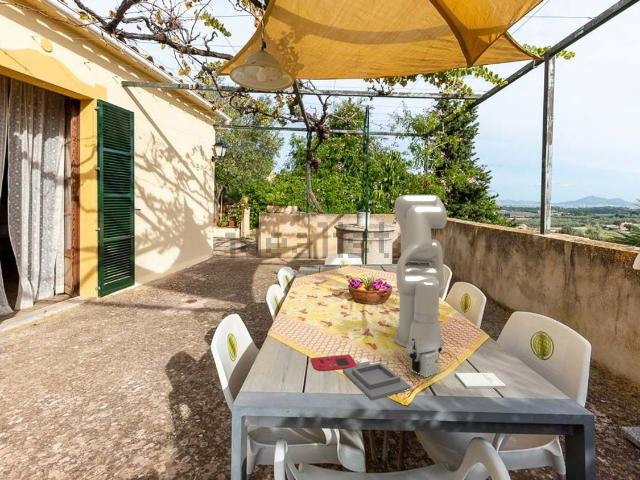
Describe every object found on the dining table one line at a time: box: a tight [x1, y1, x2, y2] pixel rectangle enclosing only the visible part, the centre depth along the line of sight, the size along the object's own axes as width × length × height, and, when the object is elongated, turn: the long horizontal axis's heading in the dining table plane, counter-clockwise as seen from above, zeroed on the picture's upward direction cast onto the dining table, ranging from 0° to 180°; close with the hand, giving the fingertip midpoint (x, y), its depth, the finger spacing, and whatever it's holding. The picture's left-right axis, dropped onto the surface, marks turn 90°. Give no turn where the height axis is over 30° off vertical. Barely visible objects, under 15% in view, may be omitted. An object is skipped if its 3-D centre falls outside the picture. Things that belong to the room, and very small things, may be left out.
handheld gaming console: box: [310, 354, 357, 372], centre depth 121 cm, size 10×1×15 cm
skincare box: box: [412, 351, 439, 378], centre depth 114 cm, size 6×6×7 cm
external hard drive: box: [454, 372, 507, 390], centre depth 109 cm, size 2×8×12 cm
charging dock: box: [342, 357, 412, 401], centre depth 109 cm, size 18×14×4 cm
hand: (424, 368), depth 114 cm, fingers closed on skincare box, 6 cm apart
